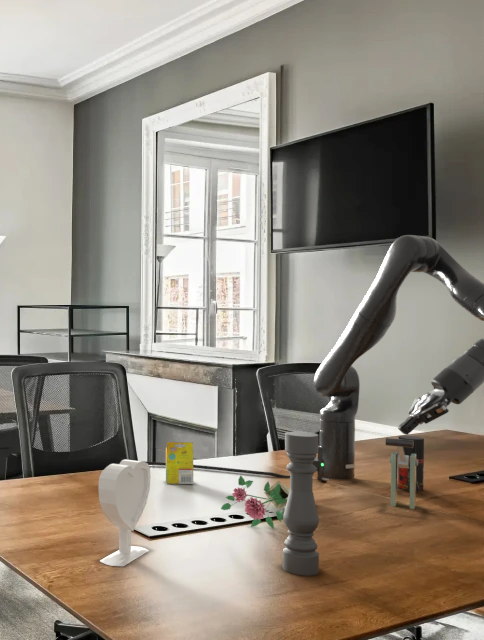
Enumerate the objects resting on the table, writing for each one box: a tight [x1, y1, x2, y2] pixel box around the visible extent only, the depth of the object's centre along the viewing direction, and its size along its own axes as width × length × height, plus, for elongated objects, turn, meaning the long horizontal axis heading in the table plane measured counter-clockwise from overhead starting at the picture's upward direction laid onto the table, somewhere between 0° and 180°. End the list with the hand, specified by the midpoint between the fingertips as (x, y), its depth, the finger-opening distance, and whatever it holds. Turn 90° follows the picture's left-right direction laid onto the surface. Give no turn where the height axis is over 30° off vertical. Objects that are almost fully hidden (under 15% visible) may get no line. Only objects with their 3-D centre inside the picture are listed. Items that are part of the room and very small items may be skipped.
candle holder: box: [282, 431, 320, 577], centre depth 136 cm, size 6×6×25 cm
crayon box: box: [165, 441, 195, 485], centre depth 206 cm, size 7×3×12 cm, turn 84°
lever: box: [385, 437, 413, 469], centre depth 173 cm, size 15×6×2 cm, turn 147°
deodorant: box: [397, 435, 425, 493], centre depth 195 cm, size 6×6×15 cm
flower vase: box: [220, 475, 290, 529], centre depth 167 cm, size 12×12×35 cm
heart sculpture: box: [97, 458, 152, 567], centre depth 143 cm, size 16×5×18 cm, turn 144°
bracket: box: [388, 451, 418, 510], centre depth 178 cm, size 10×9×14 cm
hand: (401, 431), depth 168 cm, fingers closed
